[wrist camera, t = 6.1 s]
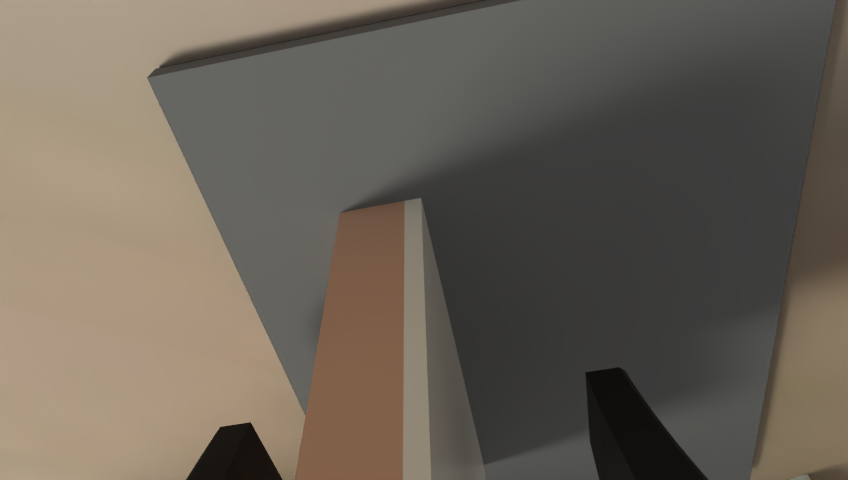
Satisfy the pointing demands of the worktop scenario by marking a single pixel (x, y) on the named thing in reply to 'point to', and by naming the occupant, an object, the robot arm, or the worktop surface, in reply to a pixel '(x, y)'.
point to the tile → (387, 360)
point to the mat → (535, 198)
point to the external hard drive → (801, 477)
